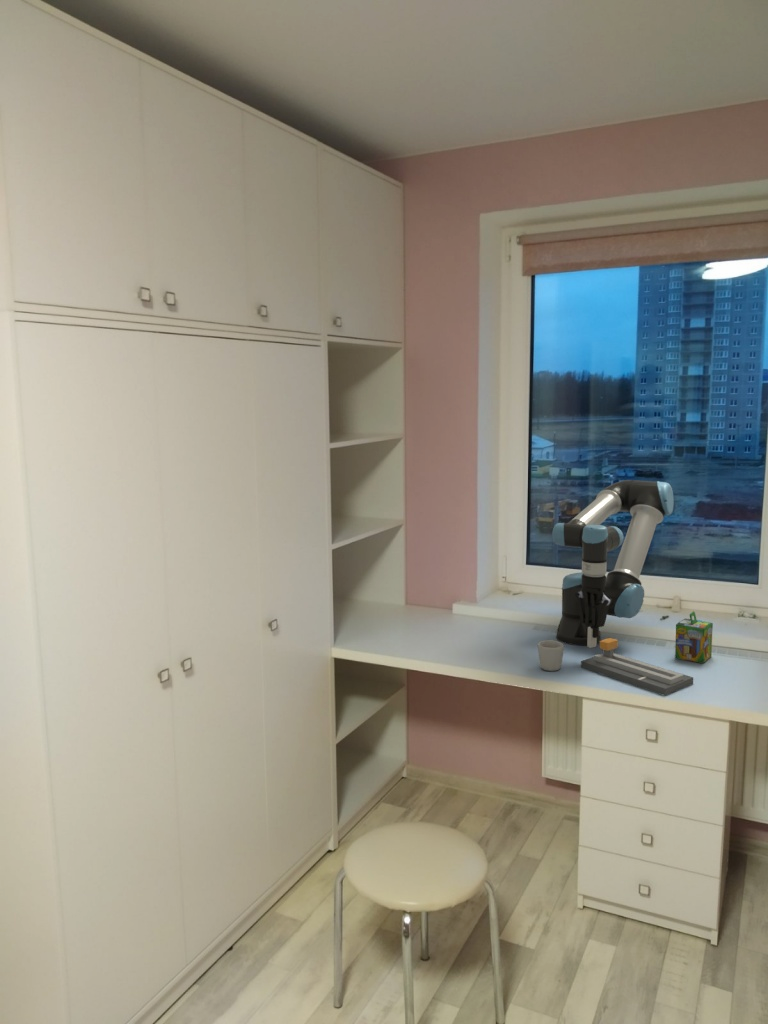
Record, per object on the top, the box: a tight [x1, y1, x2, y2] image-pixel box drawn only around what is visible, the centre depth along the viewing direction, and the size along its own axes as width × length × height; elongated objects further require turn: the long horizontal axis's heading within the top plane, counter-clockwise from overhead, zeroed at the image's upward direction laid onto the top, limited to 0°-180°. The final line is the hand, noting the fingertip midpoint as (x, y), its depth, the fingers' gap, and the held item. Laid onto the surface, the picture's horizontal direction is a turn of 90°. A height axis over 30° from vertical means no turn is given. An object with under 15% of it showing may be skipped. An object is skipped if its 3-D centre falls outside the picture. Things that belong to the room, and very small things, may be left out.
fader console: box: [580, 652, 694, 696], centre depth 241 cm, size 30×14×4 cm, turn 37°
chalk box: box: [674, 610, 714, 664], centre depth 255 cm, size 9×9×15 cm
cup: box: [537, 639, 565, 672], centre depth 249 cm, size 11×8×8 cm
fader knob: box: [599, 637, 619, 659], centre depth 248 cm, size 3×5×6 cm, turn 127°
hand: (591, 646), depth 253 cm, fingers closed
